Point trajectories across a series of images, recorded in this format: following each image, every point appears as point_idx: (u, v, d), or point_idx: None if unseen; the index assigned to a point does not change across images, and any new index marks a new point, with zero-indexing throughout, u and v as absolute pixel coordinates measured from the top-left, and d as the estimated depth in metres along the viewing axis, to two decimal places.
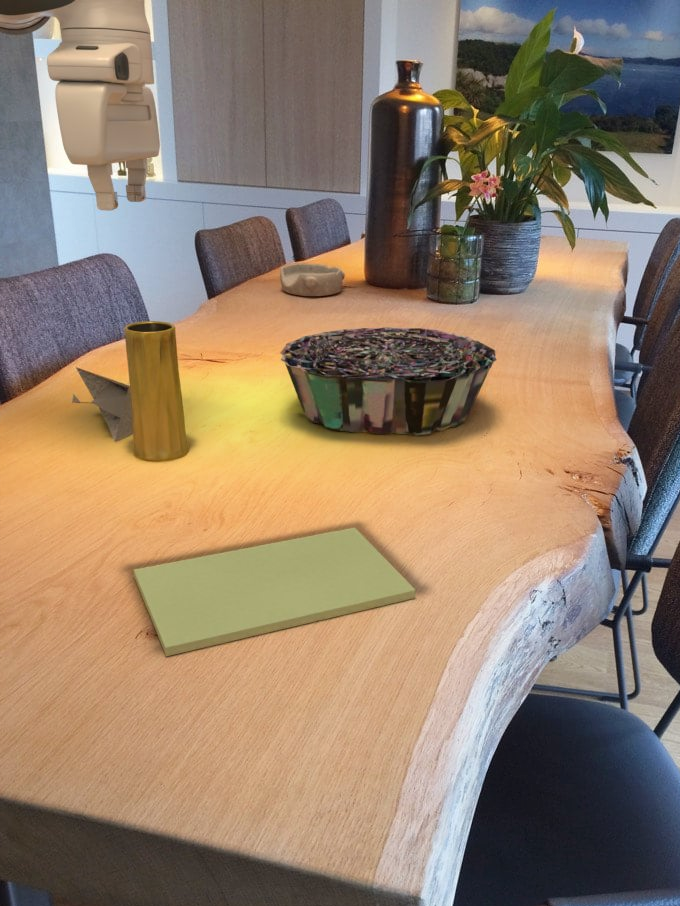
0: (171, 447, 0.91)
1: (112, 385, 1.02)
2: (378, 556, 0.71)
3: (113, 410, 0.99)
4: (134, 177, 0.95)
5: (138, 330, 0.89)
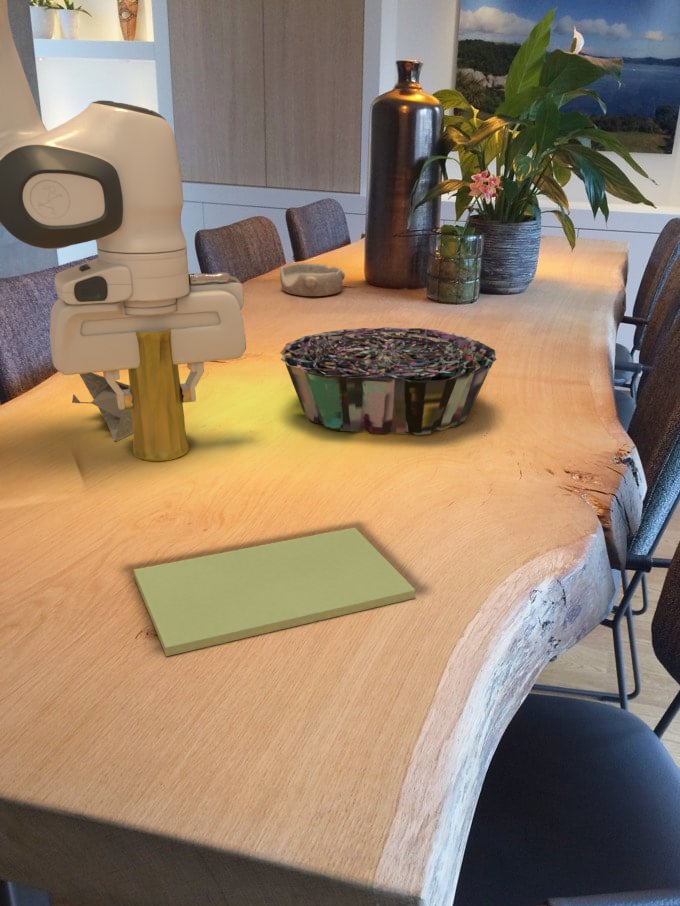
0: (171, 447, 0.91)
1: None
2: (378, 556, 0.71)
3: (113, 410, 0.99)
4: (189, 377, 0.92)
5: None
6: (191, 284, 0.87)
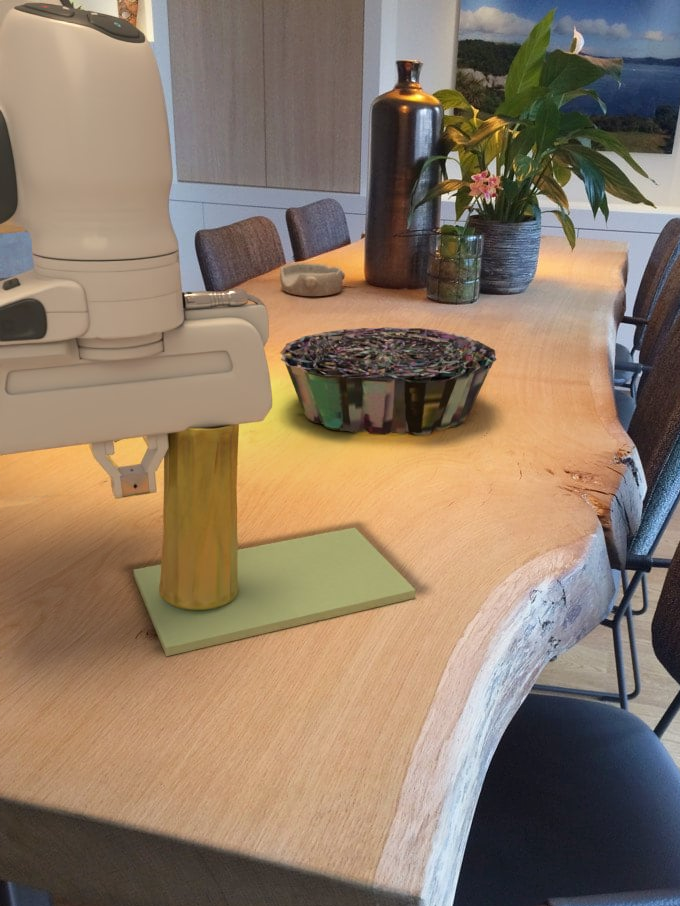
0: (217, 591, 0.62)
1: None
2: (378, 556, 0.71)
3: None
4: (147, 456, 0.58)
5: None
6: (187, 308, 0.55)
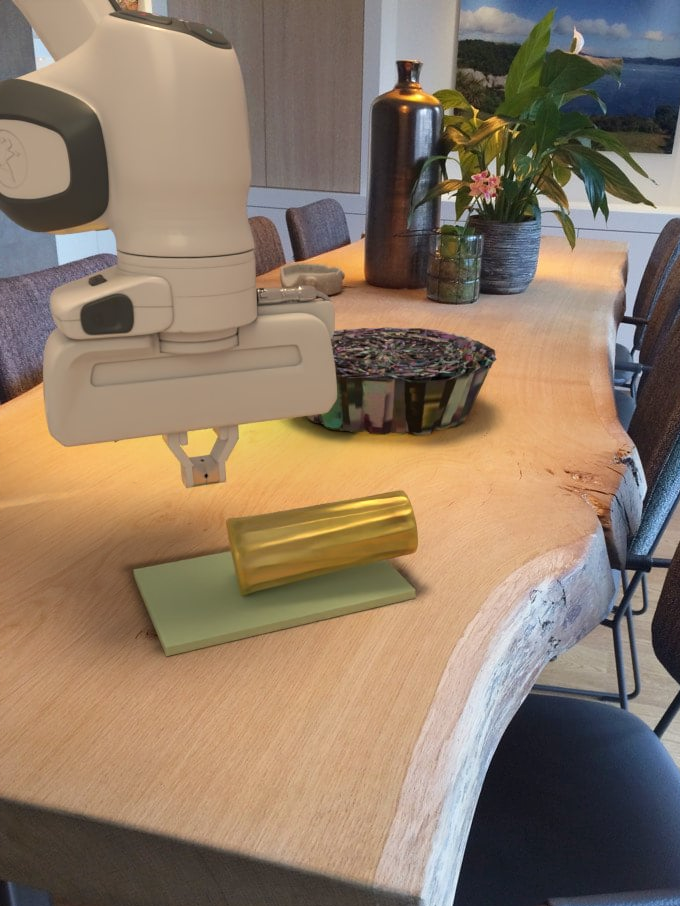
0: (258, 583, 0.63)
1: None
2: None
3: None
4: (217, 447, 0.61)
5: None
6: (259, 304, 0.57)
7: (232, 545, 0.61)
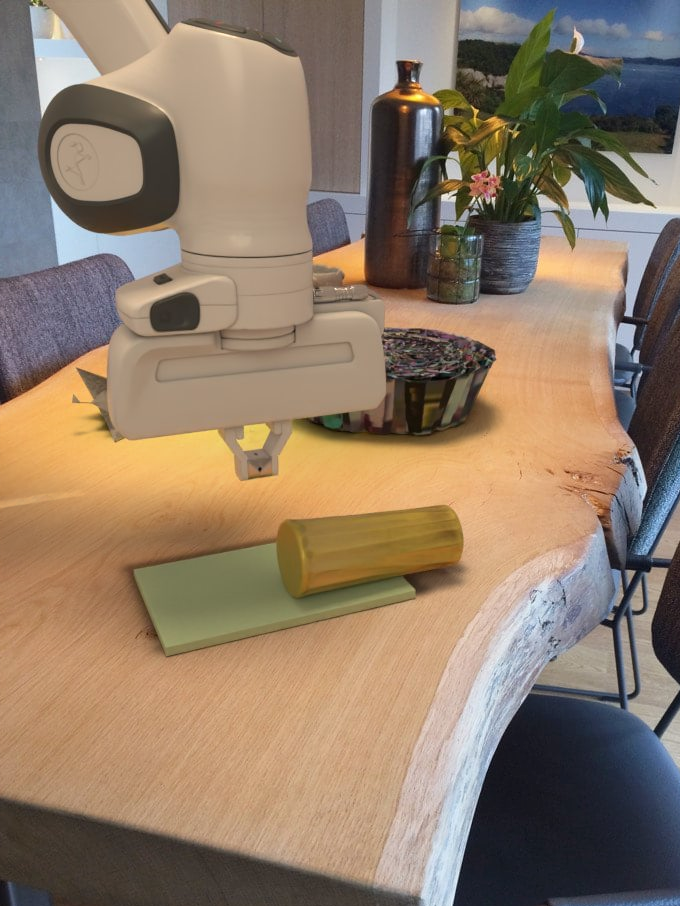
0: (316, 587, 0.63)
1: None
2: None
3: None
4: (270, 441, 0.62)
5: None
6: (314, 302, 0.59)
7: (299, 548, 0.62)
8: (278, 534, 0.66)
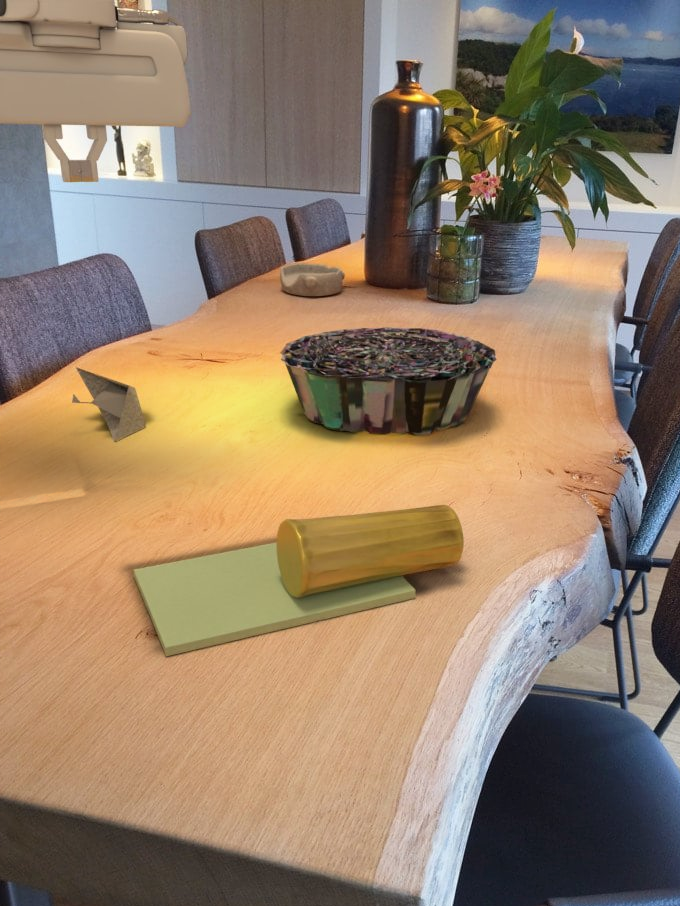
0: (316, 587, 0.63)
1: (112, 385, 1.02)
2: None
3: (113, 410, 0.99)
4: (90, 150, 0.74)
5: None
6: (119, 20, 0.70)
7: (299, 548, 0.62)
8: (278, 534, 0.66)
